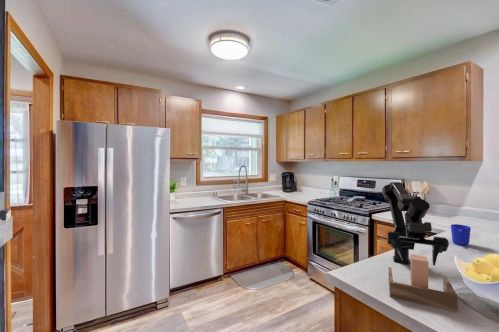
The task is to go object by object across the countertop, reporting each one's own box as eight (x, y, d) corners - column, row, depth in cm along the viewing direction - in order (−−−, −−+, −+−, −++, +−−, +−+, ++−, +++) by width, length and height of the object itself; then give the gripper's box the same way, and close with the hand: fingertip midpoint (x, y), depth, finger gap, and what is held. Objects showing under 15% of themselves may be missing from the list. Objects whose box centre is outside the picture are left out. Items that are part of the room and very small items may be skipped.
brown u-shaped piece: (388, 279, 93) (388, 267, 93) (446, 291, 84) (446, 277, 84) (389, 296, 82) (389, 282, 82) (457, 311, 73) (457, 295, 73)
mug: (449, 246, 128) (450, 227, 127) (451, 240, 137) (451, 223, 136) (470, 250, 122) (470, 230, 122) (470, 243, 131) (470, 225, 131)
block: (410, 289, 86) (410, 254, 85) (425, 293, 83) (425, 256, 83) (412, 296, 82) (412, 259, 81) (428, 299, 80) (428, 261, 79)
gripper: (387, 211, 94) (388, 247, 84) (447, 215, 85) (456, 257, 75) (386, 226, 101) (387, 261, 91) (442, 231, 92) (449, 271, 82)
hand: (418, 262), depth 85 cm, fingers open, 9 cm apart
